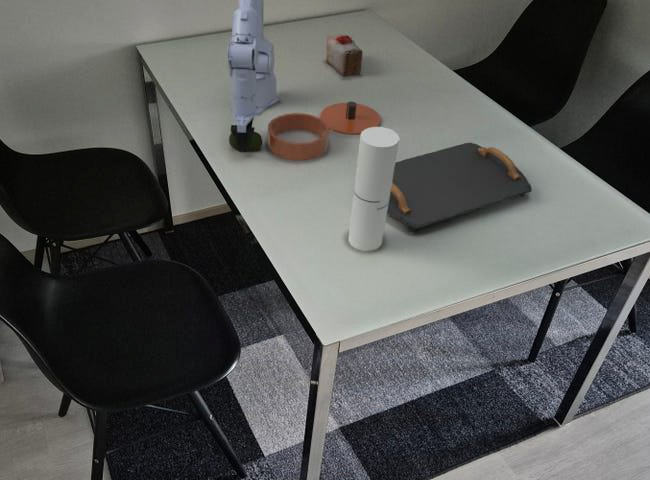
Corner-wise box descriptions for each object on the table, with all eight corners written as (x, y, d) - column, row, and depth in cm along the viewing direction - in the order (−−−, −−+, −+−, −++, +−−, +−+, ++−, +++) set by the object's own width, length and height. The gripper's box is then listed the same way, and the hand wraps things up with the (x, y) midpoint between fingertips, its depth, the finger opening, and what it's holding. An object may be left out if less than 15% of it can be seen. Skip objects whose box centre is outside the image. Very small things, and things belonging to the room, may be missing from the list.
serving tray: (477, 148, 163) (482, 126, 159) (541, 197, 148) (549, 174, 144) (347, 184, 150) (349, 162, 146) (403, 242, 135) (407, 219, 131)
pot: (292, 123, 170) (293, 107, 167) (339, 143, 163) (341, 126, 160) (255, 146, 161) (255, 129, 158) (302, 169, 154) (303, 151, 151)
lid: (342, 100, 180) (344, 83, 177) (391, 119, 173) (394, 102, 170) (307, 122, 171) (308, 104, 167) (357, 143, 164) (360, 125, 160)
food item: (321, 60, 199) (323, 29, 192) (344, 56, 201) (347, 25, 194) (341, 79, 190) (344, 47, 183) (364, 75, 192) (368, 43, 185)
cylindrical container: (346, 229, 138) (357, 127, 121) (378, 228, 138) (394, 126, 121) (351, 251, 132) (364, 147, 115) (385, 250, 133) (402, 146, 116)
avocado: (228, 153, 158) (227, 135, 155) (230, 142, 162) (229, 125, 159) (261, 154, 158) (261, 137, 155) (263, 144, 162) (263, 126, 159)
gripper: (258, 108, 145) (258, 159, 154) (262, 79, 155) (262, 128, 165) (227, 107, 145) (229, 158, 154) (233, 78, 155) (235, 127, 165)
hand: (244, 143), depth 159 cm, fingers open, 7 cm apart
